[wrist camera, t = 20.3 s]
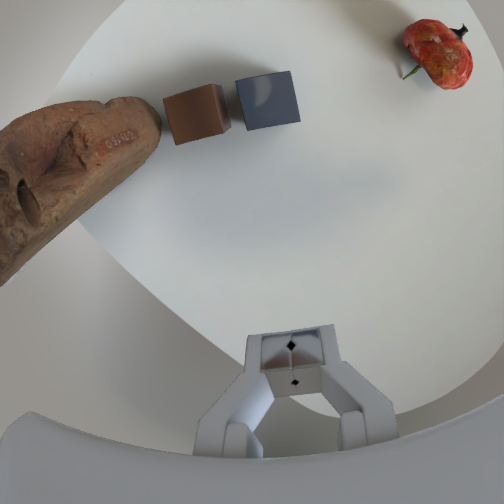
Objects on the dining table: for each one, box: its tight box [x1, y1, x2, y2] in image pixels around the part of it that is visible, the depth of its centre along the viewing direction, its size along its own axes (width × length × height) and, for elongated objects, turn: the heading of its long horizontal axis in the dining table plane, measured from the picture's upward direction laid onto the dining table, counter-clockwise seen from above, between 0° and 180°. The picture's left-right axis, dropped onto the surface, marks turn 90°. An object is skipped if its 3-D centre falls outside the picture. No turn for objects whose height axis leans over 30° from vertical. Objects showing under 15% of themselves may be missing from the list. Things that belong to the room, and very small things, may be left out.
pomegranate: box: [403, 19, 473, 90], centre depth 15 cm, size 7×7×10 cm
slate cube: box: [235, 71, 301, 131], centre depth 21 cm, size 4×4×4 cm
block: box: [0, 97, 162, 287], centre depth 17 cm, size 11×8×20 cm
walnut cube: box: [163, 84, 231, 145], centre depth 22 cm, size 4×4×4 cm
